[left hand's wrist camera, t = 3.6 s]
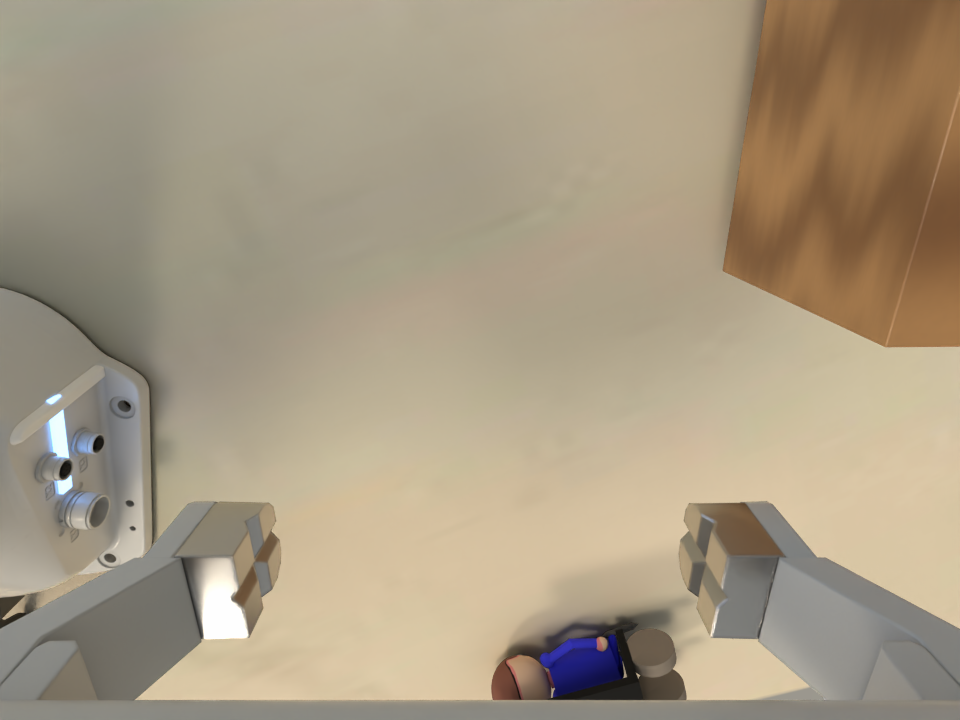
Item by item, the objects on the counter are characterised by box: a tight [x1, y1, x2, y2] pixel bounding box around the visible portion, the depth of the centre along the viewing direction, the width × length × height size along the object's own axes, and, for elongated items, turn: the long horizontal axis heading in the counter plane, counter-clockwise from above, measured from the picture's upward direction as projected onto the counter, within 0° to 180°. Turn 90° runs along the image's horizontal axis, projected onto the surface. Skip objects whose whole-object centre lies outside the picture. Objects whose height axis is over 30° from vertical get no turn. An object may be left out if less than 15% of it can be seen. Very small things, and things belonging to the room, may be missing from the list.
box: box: [723, 0, 960, 347], centre depth 21 cm, size 21×6×13 cm, turn 0°
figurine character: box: [491, 623, 686, 700], centre depth 43 cm, size 7×8×15 cm
